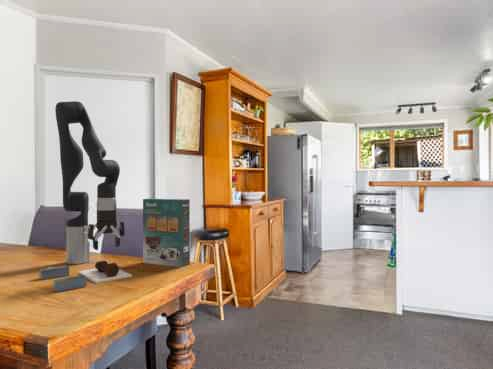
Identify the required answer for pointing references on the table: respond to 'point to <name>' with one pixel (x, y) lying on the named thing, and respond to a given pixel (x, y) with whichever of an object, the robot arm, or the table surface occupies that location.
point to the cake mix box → (166, 232)
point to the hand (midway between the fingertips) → (106, 248)
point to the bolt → (107, 268)
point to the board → (103, 275)
